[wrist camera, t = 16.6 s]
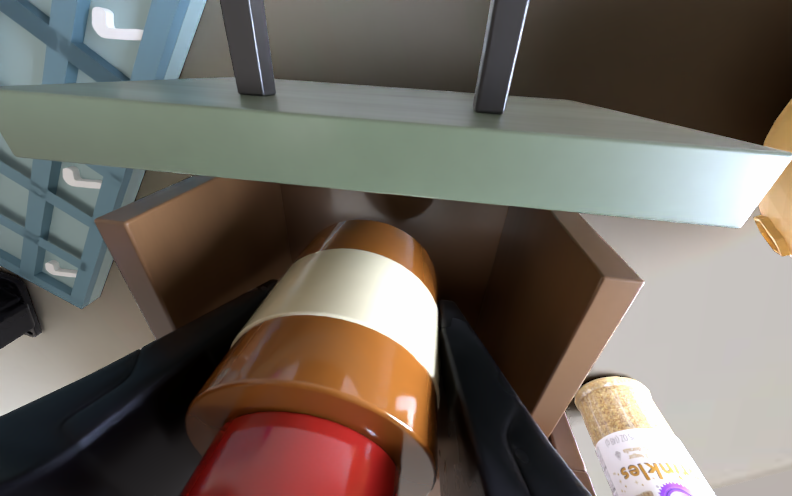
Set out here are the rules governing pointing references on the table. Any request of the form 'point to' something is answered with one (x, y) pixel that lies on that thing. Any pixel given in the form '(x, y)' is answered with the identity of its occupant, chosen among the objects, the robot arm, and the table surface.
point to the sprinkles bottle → (636, 441)
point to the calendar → (72, 182)
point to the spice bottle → (329, 377)
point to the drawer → (393, 190)
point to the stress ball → (779, 191)
